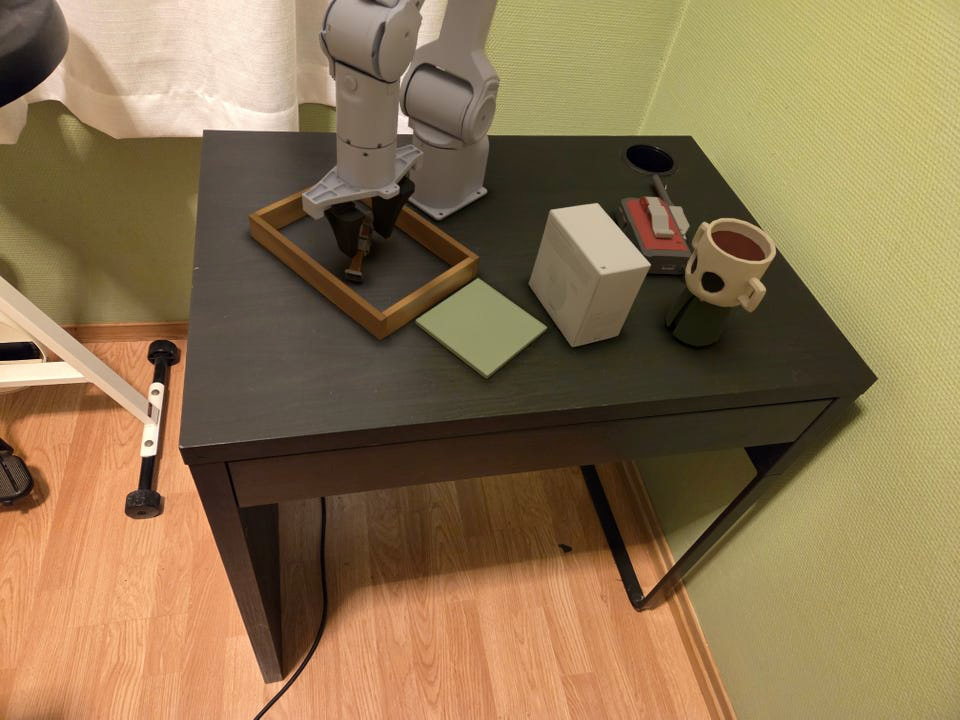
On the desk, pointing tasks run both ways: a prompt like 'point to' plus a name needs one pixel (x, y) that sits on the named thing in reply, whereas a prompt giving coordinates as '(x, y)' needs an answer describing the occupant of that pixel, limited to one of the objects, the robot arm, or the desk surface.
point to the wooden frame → (340, 294)
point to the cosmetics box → (587, 273)
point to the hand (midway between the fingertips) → (364, 243)
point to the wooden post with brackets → (361, 248)
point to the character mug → (720, 278)
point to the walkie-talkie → (656, 230)
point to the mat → (481, 327)
